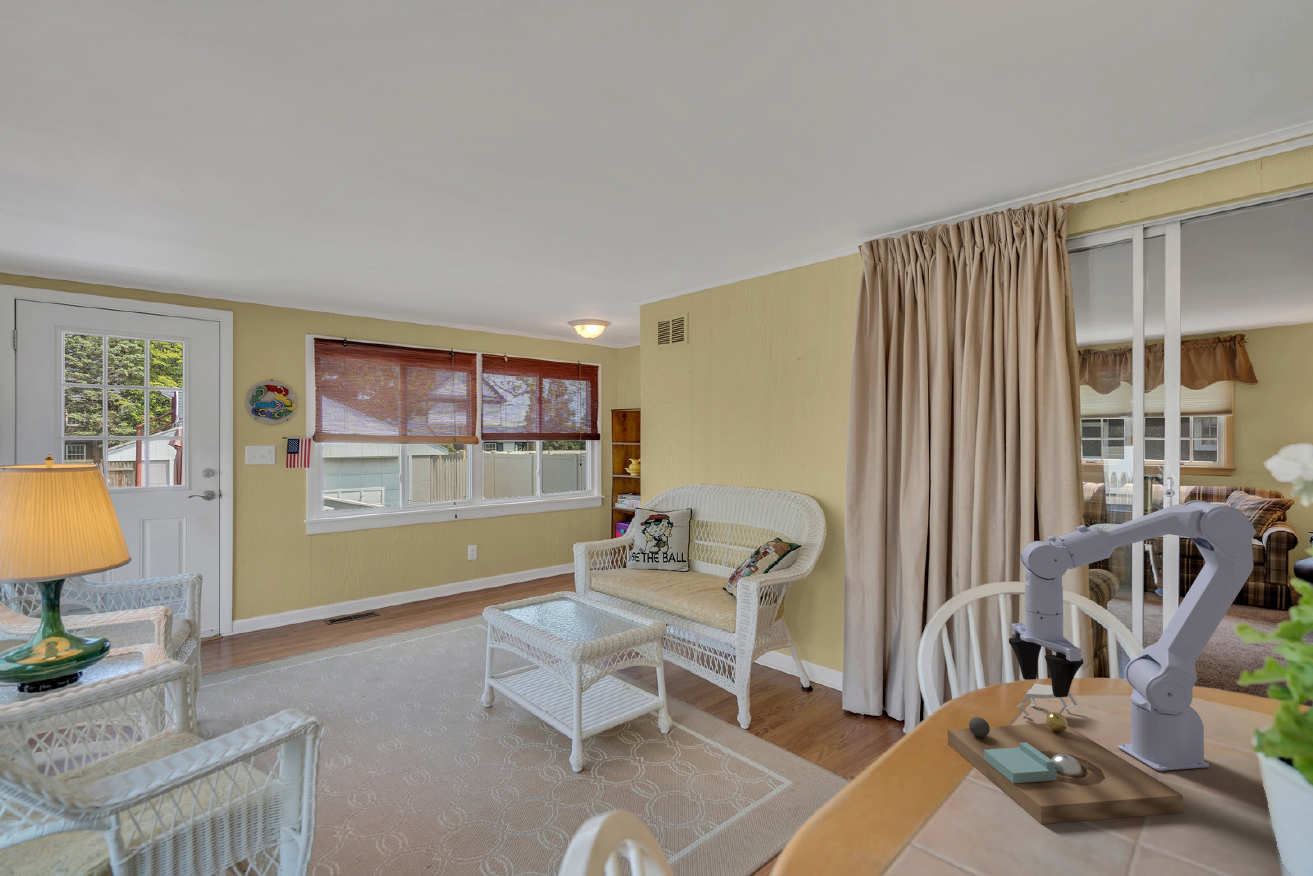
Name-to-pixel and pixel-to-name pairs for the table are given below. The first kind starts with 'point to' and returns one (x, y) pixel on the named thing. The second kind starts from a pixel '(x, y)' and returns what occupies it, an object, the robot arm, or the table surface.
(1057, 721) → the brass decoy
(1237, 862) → the table surface
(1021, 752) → the cover
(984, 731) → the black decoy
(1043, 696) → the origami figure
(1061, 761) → the steel ball
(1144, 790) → the wooden board
